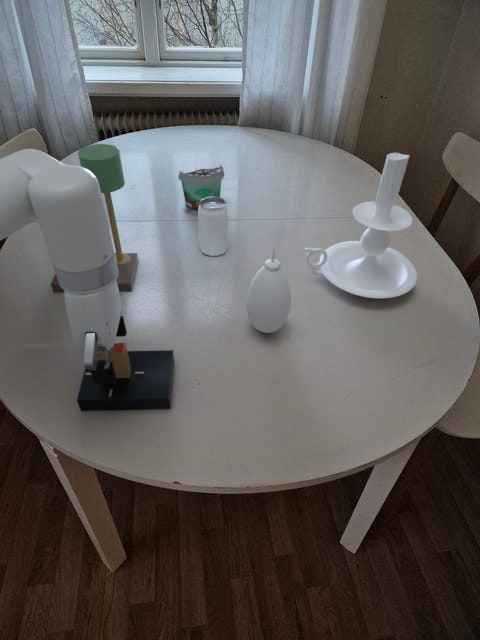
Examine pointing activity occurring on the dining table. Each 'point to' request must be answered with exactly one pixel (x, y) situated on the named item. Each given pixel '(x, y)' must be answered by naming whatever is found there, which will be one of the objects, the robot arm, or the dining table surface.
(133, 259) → the lamp base
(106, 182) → the lamp
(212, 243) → the can
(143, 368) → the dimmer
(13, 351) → the dining table surface
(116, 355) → the yellow upright block
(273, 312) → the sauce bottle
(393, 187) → the candlestick
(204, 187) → the food container
